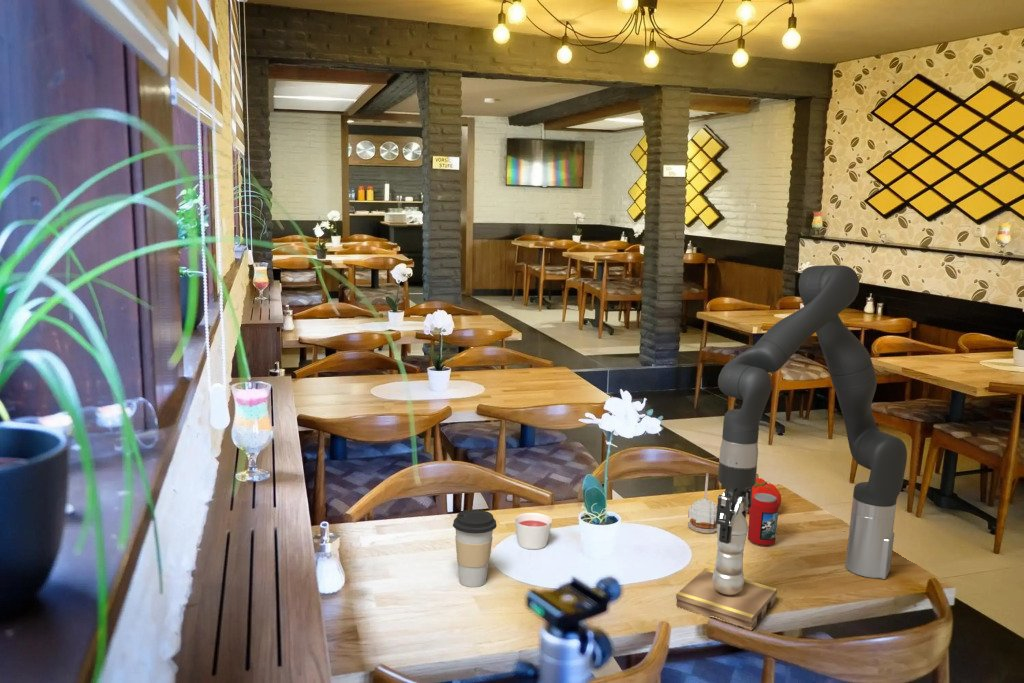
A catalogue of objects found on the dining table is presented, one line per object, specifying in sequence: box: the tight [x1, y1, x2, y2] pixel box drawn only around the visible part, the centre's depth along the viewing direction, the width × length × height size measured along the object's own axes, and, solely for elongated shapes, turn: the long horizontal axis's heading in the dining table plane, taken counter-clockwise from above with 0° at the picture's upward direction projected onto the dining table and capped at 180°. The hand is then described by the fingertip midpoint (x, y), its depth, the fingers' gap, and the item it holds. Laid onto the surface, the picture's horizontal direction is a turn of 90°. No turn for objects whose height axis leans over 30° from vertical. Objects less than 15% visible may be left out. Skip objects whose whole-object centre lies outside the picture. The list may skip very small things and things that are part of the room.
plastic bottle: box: [712, 502, 749, 595], centre depth 171 cm, size 6×7×20 cm
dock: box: [675, 567, 778, 629], centre depth 173 cm, size 16×16×3 cm
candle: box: [514, 512, 553, 550], centre depth 201 cm, size 9×9×6 cm
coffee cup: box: [452, 509, 498, 588], centre depth 179 cm, size 9×9×15 cm
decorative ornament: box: [687, 473, 717, 534], centre depth 214 cm, size 8×8×15 cm
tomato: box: [746, 477, 782, 514], centre depth 228 cm, size 13×12×8 cm
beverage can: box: [747, 493, 780, 547], centre depth 206 cm, size 7×7×12 cm
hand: (732, 536), depth 171 cm, fingers open, 8 cm apart
